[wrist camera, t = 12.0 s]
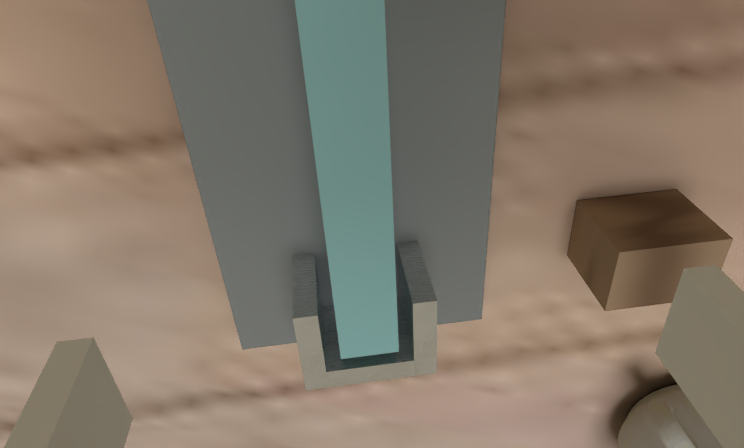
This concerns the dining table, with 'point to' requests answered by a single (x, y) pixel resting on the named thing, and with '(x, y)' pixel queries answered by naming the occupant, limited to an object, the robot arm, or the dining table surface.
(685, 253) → the block
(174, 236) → the dining table surface
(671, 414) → the teacup
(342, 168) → the slat
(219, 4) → the cap board
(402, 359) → the end caps
